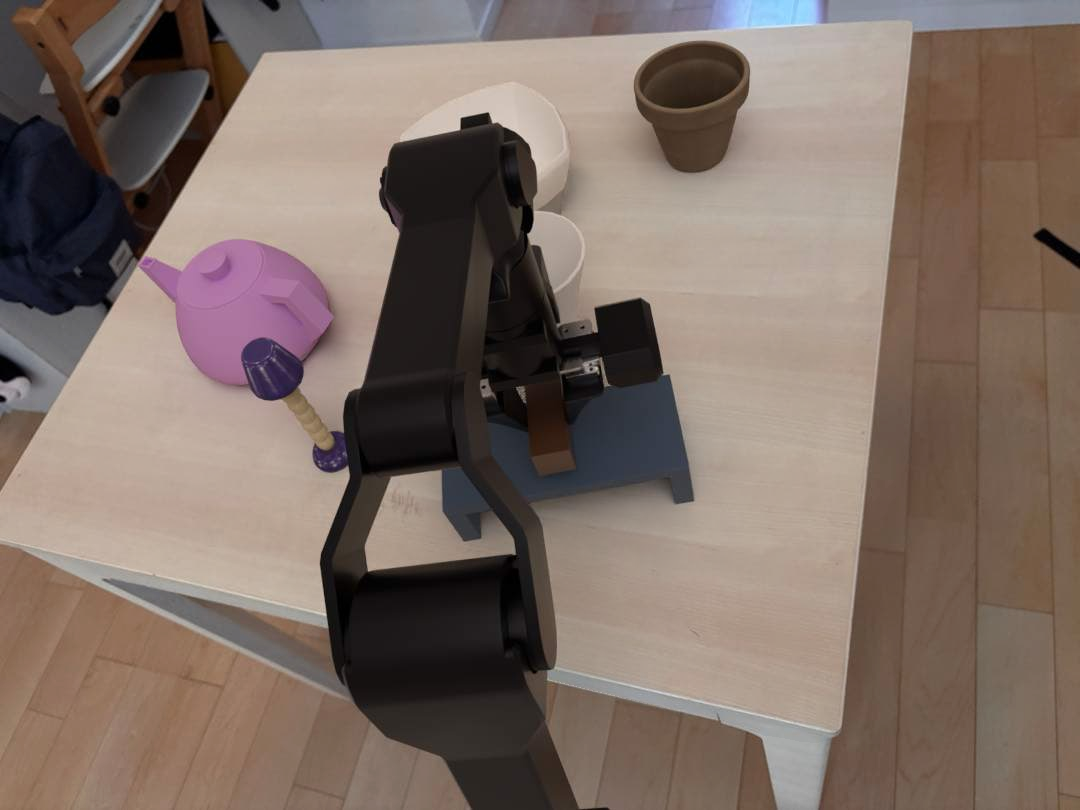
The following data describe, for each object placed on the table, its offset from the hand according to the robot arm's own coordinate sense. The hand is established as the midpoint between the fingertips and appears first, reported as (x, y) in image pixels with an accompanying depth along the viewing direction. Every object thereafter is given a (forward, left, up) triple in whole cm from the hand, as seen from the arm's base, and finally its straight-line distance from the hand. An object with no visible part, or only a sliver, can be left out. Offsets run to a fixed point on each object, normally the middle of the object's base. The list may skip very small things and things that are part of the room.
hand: (550, 423), depth 69 cm
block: (0, 0, -1) cm, 1 cm away
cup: (+14, 0, -9) cm, 17 cm away
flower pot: (+37, -18, -9) cm, 42 cm away
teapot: (+24, +31, -9) cm, 40 cm away
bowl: (+35, +4, -9) cm, 36 cm away
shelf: (0, 0, -9) cm, 9 cm away
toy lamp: (+7, +22, -9) cm, 25 cm away
